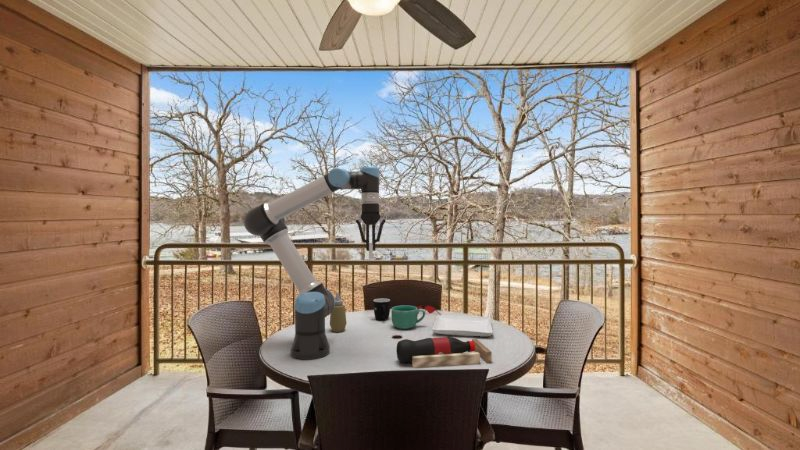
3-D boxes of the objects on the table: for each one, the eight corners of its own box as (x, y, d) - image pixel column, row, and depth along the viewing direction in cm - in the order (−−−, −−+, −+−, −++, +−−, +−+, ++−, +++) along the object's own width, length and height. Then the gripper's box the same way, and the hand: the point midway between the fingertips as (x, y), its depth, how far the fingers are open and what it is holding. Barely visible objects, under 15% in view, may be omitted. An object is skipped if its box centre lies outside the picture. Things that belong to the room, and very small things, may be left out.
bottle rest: (413, 367, 145) (413, 356, 145) (405, 352, 161) (405, 342, 160) (491, 362, 149) (491, 351, 149) (476, 348, 165) (476, 338, 165)
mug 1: (372, 317, 216) (372, 298, 216) (388, 316, 218) (388, 298, 218) (375, 323, 205) (375, 303, 204) (393, 322, 206) (393, 302, 206)
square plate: (431, 337, 182) (431, 328, 182) (437, 321, 209) (436, 314, 209) (493, 340, 177) (493, 331, 177) (490, 323, 204) (490, 316, 204)
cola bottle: (399, 368, 147) (476, 362, 153) (400, 350, 144) (479, 344, 150) (395, 353, 155) (468, 347, 161) (396, 335, 152) (471, 330, 158)
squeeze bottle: (348, 332, 190) (348, 293, 189) (331, 333, 187) (331, 295, 186) (344, 327, 197) (344, 290, 197) (328, 329, 194) (327, 292, 194)
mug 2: (391, 331, 191) (390, 311, 191) (392, 323, 204) (391, 305, 203) (426, 331, 191) (426, 311, 191) (424, 323, 203) (424, 305, 203)
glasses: (435, 313, 227) (435, 304, 226) (443, 320, 210) (442, 311, 210) (410, 314, 224) (410, 305, 224) (416, 322, 208) (416, 312, 208)
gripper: (355, 202, 166) (355, 259, 167) (386, 202, 168) (387, 259, 169) (354, 203, 174) (355, 258, 174) (384, 203, 176) (385, 257, 176)
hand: (370, 258), depth 172 cm, fingers closed
